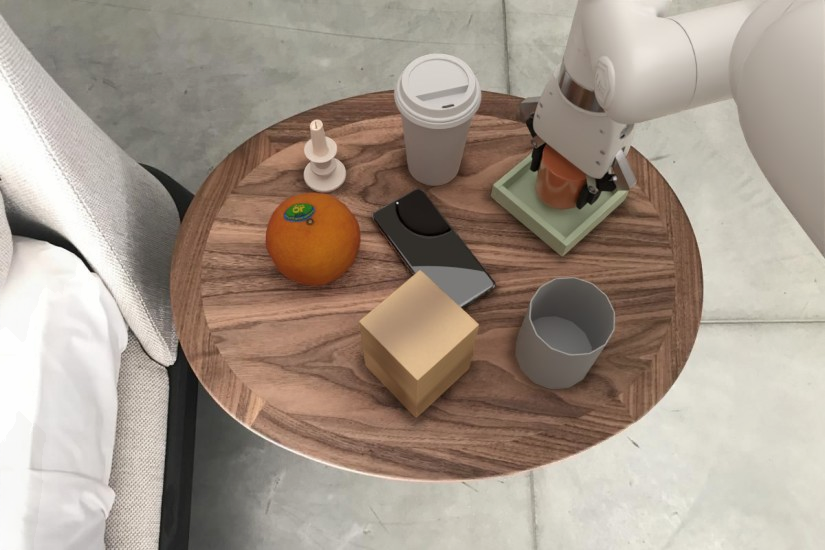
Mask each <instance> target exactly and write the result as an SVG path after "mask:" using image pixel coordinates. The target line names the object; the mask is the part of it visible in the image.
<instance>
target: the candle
mask: <svg viewBox="0 0 825 550" xmlns="http://www.w3.org/2000/svg"><path fill="white" fill-rule="evenodd" d="M309 130H310V131H309V133H310V139H309V140H308V141H306V143H305V144H304V148H303V152H304V153H303V154H304V155H305V157H306V158H307V159H308V160H309V161H310V162H309V163H307V165H306V166H305V168H304V171H303V179H304V182H305V184H306V186H307V187H308V188H309V189H310V190H312V191H314V192H315V193H323V194H329V193H332V192H335V191H337V190H338V189H340V188H341V187H342V186H343V185H344V183H345V182H346V178H347V170H346V167H345V165H344V163H342V161H340V160H339V159H338V158H335V156H336V155H337V152H338V146H337V144H336V142H335V141H334V139H332V138H331V137H328V136H326V133H325V128H324V125H323V121H322V120H321V119H314V120H312V121H311V123H310V124H309Z"/></svg>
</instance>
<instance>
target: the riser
mask: <svg viewBox="0 0 825 550" xmlns="http://www.w3.org/2000/svg"><path fill="white" fill-rule="evenodd" d="M358 326H359V333H360V339H361V345H362V352H363V359H364V367H366V368H367V370H369V372H371V374H373V376H374V377H375V378H376V379H377V380H378V381H379V382H380V383H381V384H382V385H383V386H384V387H385V388H386V389H387V390H388V391H389V392H390V393H391V395H393V396H394V397H395V398H396V399H397V401H399V403H401V405H402V406H403V407H404V408H405V409H406V410H407V411H408V412H409V413H410V414H411V415H412V416H413V417H414V418H415V419H417V418H418V417H420V415H421V414H422V413H424V411H426V410H427V409H428V408H429V407H430V406H431V405H432V404H433V403H435V402H436V400H438V399H439V398H440V397H441V396H442V395H443V394H444V393H445V392H446V391H447V390H448V389H449V388H450V387H452V385H454V384H455V383H456V382H457V381H458V380H459V379H460V378H461V377H462V376H463V375H465V374H466V373H467V372H468V371H469V370H470V367H471V363H472V360H473V354H474V349H475V346H476V342H477V336H478V333H479V329H480V324H479V323H478V322H477V321H476V320H475V319H474V318H473V317H472V316H470V314H468V312H467V311H465V310H464V309H462V308H461V307H460V306H459V305H458V304H457V303H455V302H454V301H453V300H452V299H451V298H450V297H449V296H448V295H447V294H446V293H445V292H444V291H443V290H442V289H440V288H439V287H438V286H437V285H436V284H435V283H434V282H433V281H432V280H431V279H430V278H429V277H428V276H427V275H425V274H424V273H423V272H422V271H421V270H419V271H418V272H417V273H416V274H415V275H413V274H412V276H411V277H409V278H408V279H407V280H406V281H404V283H403V284H401V285H400V286H399V287H397V289H396V290H394V291H393V292H392V293H390V294H389V295H388V296H387V297H386V298H385V299H384V300H382V301H381V302H380V303H379V304H377V305H376V306H375V307H374V308H372V309H371V310H370V311H369V312H368V313H366V315H364V316H363V317H362V318H361V319H360V320H359V321H358Z"/></svg>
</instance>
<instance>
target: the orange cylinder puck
mask: <svg viewBox="0 0 825 550" xmlns="http://www.w3.org/2000/svg"><path fill="white" fill-rule="evenodd" d="M586 184H587V180H586V173H584V172H583V171H582V170H580V169H579V168H578V167H576V166H575V165H574V164H572V163H571V162H570V161H568V160H567V159H566V158H565V157H563V156H562V155H561V154H560V153H558V152H557V151H556V150H554V149H553V148H552V147H551V146H550V145H548V144H546V145H545V147H544V150H543V153H542V157H541V160H540V164H539V168H538V171H537V175H536V178H535V183H534V186H535V191H536V193H537V195H538V197H539V198H540V199H541V201H543V202H544V203H545V204H547V205H548V206H550V207H553V208H556V209H572V208H575V207H576V203H577V200H578V197H579V195H580V192H581V189H582V188H583V187H584V186H585V185H586Z"/></svg>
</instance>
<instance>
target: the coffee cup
mask: <svg viewBox="0 0 825 550" xmlns="http://www.w3.org/2000/svg"><path fill="white" fill-rule="evenodd" d="M393 99H394V102H395V105H396V108H397V110H398V111H399V113H400V118H401V127H402V133H403V140H404V147H405V155H406V161H407V162H406V163H407V168H408V171H409V173H410V175H411V177H412V178H413V179H414V180H416V181H417V182H419V183H420V184H423V185H424V186H425V185H426V186H430V187H438V186H443V185H446V184H448V183H449V182H451V181H453V180H454V179H455V177H457V175H458V173H459V170H460V168H461V163H462V159H463V154H464V152H465V147H466V144H467V140H468V136H469V132H470V128H471V124H472V121H473V117H474V115H475V114H476V113H477V111H478V110H479V108H480V106H481V103H482V89H481V85H480V83H479V80H478V78H477V76H476V75H475V73H474V72H473V70H472V69H471V67H470V66H469V65H468V64H467V63H466V62H465V61H464V60H462V59H460V58H459V57H457V56H453V55H451V54H446V53H430V54H425V55H422V56H419V57H416V58H415V59H414V60H412V61H411V62H410V63H409V64H408V65H407V66H406V67H405V69H404V70H403V71H401V74H400V75H399V77H398V78H397V81H396V83H395V86H394V91H393Z"/></svg>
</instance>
